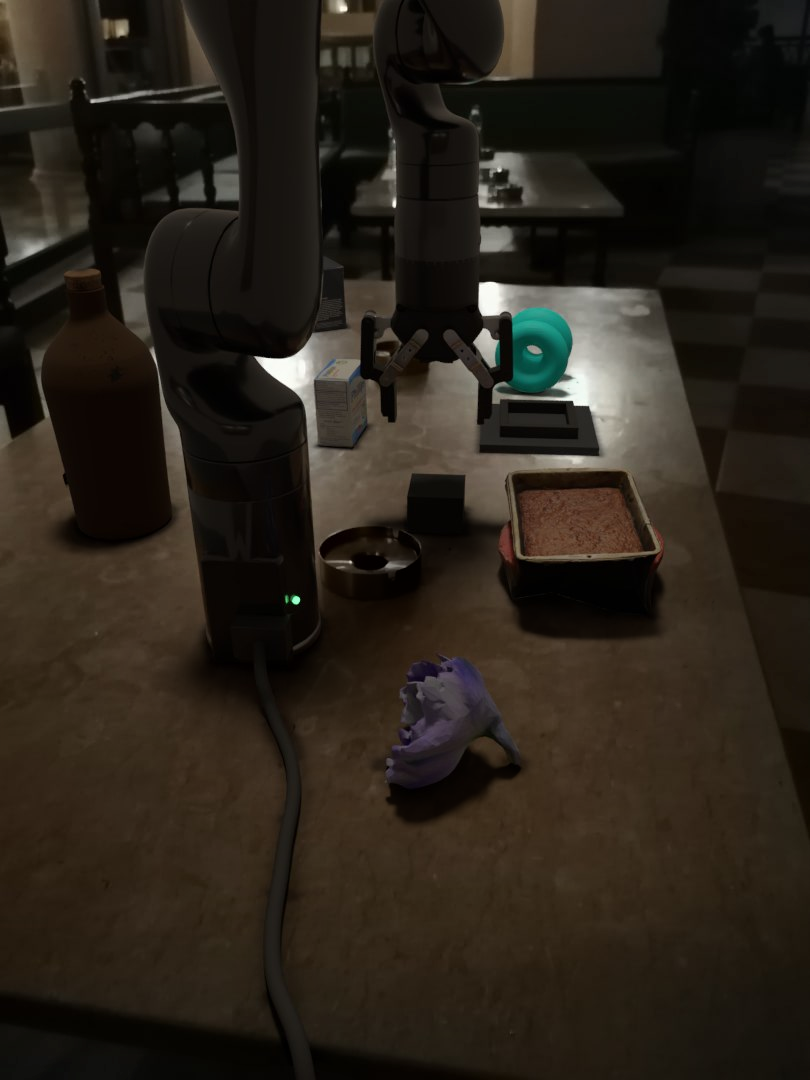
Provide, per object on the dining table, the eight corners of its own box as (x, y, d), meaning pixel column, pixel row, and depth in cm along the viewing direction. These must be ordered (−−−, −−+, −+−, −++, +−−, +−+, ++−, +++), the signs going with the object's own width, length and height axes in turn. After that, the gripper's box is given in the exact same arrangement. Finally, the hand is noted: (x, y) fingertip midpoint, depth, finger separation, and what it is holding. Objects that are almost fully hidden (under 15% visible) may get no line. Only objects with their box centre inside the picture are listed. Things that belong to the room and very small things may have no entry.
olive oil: (199, 507, 96) (166, 264, 84) (133, 552, 87) (87, 290, 75) (119, 489, 99) (77, 256, 87) (48, 531, 91) (-8, 279, 79)
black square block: (462, 534, 90) (463, 498, 88) (407, 532, 90) (406, 496, 88) (464, 509, 95) (465, 474, 93) (412, 507, 95) (411, 473, 93)
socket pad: (598, 455, 107) (600, 435, 105) (479, 452, 108) (480, 432, 107) (588, 412, 119) (590, 394, 118) (481, 410, 120) (482, 392, 119)
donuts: (492, 393, 126) (494, 321, 121) (502, 370, 134) (505, 303, 129) (564, 398, 124) (570, 326, 119) (570, 375, 132) (576, 306, 127)
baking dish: (488, 637, 78) (501, 546, 71) (498, 515, 92) (510, 430, 85) (657, 659, 77) (686, 568, 70) (642, 532, 91) (665, 447, 84)
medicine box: (352, 449, 109) (349, 379, 105) (317, 446, 110) (312, 377, 106) (368, 425, 116) (366, 359, 112) (334, 422, 116) (331, 357, 112)
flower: (545, 646, 62) (417, 612, 58) (562, 765, 56) (424, 737, 53) (473, 703, 68) (353, 676, 64) (483, 815, 63) (353, 793, 59)
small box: (292, 317, 161) (287, 257, 156) (326, 313, 164) (323, 253, 159) (312, 332, 153) (308, 269, 148) (348, 327, 155) (345, 265, 150)
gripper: (351, 257, 77) (358, 434, 85) (519, 258, 76) (511, 437, 84) (362, 239, 83) (368, 405, 91) (517, 240, 82) (510, 408, 90)
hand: (436, 420), depth 87 cm, fingers open, 8 cm apart
